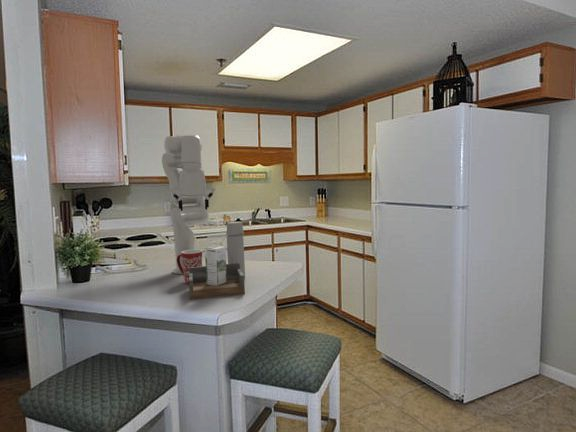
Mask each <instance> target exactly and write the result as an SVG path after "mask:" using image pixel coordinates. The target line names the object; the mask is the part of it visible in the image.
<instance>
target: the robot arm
mask: <svg viewBox="0 0 576 432" xmlns="http://www.w3.org/2000/svg"><path fill="white" fill-rule="evenodd" d="M163 146H164V151H165V153H163V154H162V156H161V165H162V168H163V171H164V172H163V173H165V175H166V177H167V180H168V183H169V190H170V191H169V192H170V196H171V201H172V203H173V205H174V206H176V207H173V208H172V209H171V211H170V219H171V224H172V230H173V241H174V256H175V257H174V258H175V268H173V270H172V273H173V274H177V275H183V274H182V272H181V271H180V269H179V267H178V264H177V256H178V255H180V254H181V252H182V251H186V250H196V242H195V241H196V239H195V233H194V232H193V231H192V229H191V228H189V226H190V227H191V226H200V225H201V226H202V225H205V224H208V222H209V210H208V208H209V207H210V203H209V202H210V201H209V200H210V198H211V197H213V194H214V193H215V191H216V188H215V187H212V186H210V185H208V184H206V183H207V182H206V175H205V172H204V170H202V169H203V167H202V147H203V145H202V141H201V138H200V137H199V135H195V134H194V135H191V134H189V135H186V134H184V135H183V134H180V135H179V134H178V135H172V136H166V137H165V139H164V144H163ZM180 169H181V170H180ZM207 189H208V190H210V192H209V193H208V194H207ZM180 263H181V266H182V268H183V261H182V257H180Z"/></svg>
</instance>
